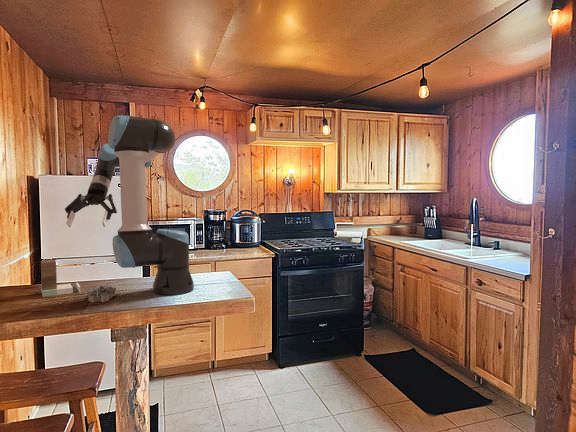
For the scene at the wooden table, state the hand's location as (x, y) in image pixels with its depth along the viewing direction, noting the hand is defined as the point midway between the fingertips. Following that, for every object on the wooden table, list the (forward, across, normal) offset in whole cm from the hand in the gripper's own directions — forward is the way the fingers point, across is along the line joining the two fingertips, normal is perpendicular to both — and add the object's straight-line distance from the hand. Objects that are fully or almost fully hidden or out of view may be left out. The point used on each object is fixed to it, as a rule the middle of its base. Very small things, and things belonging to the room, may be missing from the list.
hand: (86, 225), depth 160 cm
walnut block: (+27, +7, -4) cm, 28 cm away
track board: (+27, +4, -6) cm, 28 cm away
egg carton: (+34, -14, -1) cm, 36 cm away
